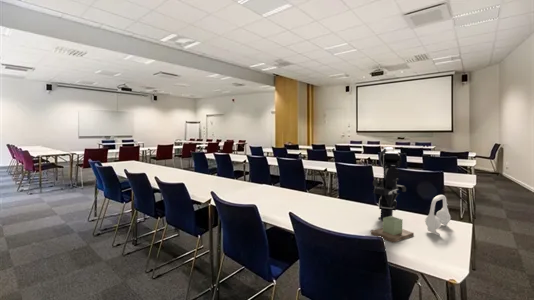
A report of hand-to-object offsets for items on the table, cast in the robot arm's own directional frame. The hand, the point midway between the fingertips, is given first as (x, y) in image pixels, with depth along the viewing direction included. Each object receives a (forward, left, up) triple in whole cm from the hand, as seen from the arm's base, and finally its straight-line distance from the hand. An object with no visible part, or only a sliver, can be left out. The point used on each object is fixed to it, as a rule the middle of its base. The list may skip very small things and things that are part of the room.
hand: (389, 206), depth 137 cm
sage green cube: (+6, +6, -10) cm, 13 cm away
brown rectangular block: (+6, +6, -12) cm, 15 cm away
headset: (-22, +13, -12) cm, 28 cm away
